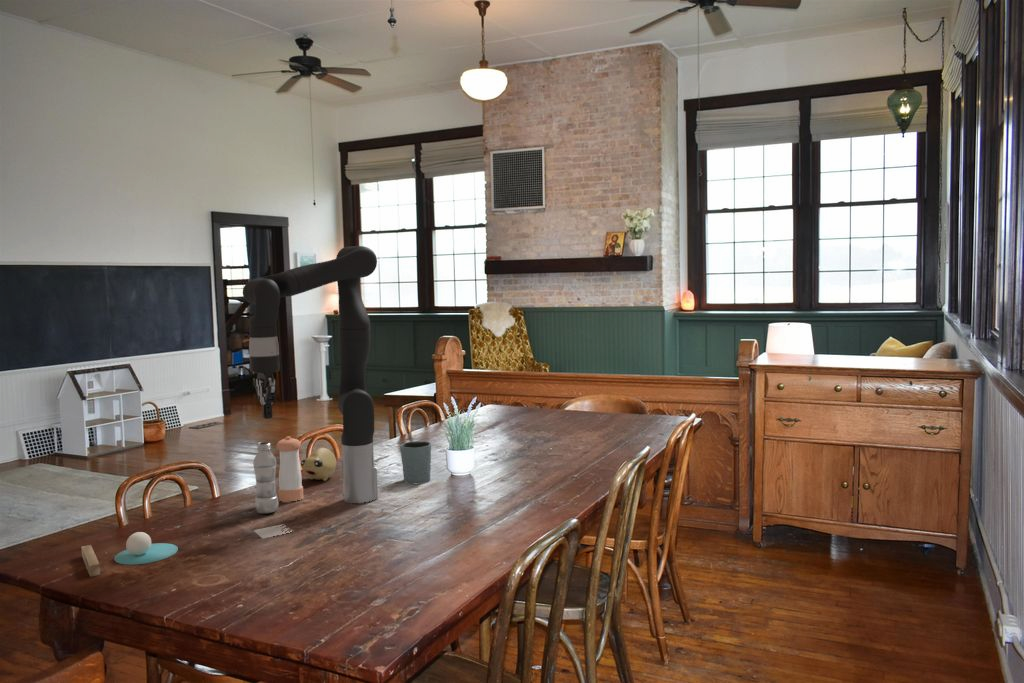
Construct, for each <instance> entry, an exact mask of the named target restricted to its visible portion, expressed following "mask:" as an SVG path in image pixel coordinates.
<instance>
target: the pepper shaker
mask: <svg viewBox="0 0 1024 683" xmlns="http://www.w3.org/2000/svg"><path fill="white" fill-rule="evenodd" d="M301 445H302V443H301V441H300V440H299V439H297V438H293V437H291V436H288V435H287V436H286V437H285V438H283V439H281V440H278V442H277V443H276V447H275V448H276V449H277V451H279V471H278V489H277V497H278V502H280V501H282V502H281V503H290V502H289V501H296V502H298V501H297V500H300V501H302V500H304V486H303V484H302V482H303V481H302V471H301V466H300V458H299V449H301V447H302V446H301ZM301 499H302V500H301Z"/></svg>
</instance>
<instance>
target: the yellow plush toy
mask: <svg viewBox="0 0 1024 683" xmlns="http://www.w3.org/2000/svg"><path fill="white" fill-rule="evenodd" d="M300 465H301V466H300V468H301V470H303V471H304V472H305V473H306V475H308V477H309V479H310V480H314V479H315V480H322V481H323V482H327V480H328V477H330V476H331V475H334V474H335V472H336V471H335V469H336V467H337V458H336V456H335V454H334V453H333V452H332V451H331V450H330V449H329V448H328V447H327V448H326V447H318V448H317V449H315V450H314V451H313V452H312V453H311V454H310V455H309V456H308V457H306V458H305V459H302V460H301V462H300Z"/></svg>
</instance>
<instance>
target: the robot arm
mask: <svg viewBox="0 0 1024 683" xmlns="http://www.w3.org/2000/svg"><path fill="white" fill-rule="evenodd" d="M377 263H378V258H377V255H376V254H375V252H374V251H373V249H371V248H369V247H367V246H364V245H357V246H356V245H355V246H350V245H349V246H345V247H342V248H340V250H339V251H338V253H337V254H336V257H335V258H333V259H331V260H326V261H320V262H315V263H310V264H305V265H301V266H300V265H299V266H297V267H294V268H290V269H286V270H284V271H282V272H279V273H277V274H271V275H265V276H260V277H257V278H253V279H250V280H249V281H247V282H246V283H245V285H244V286H243V288H242V289H243V290H242V295H243V298H244V300H245V301H246V303H249V304H250V305H253V306H255V307H254V314H253V315H252V316H250V318H249V321H248V330H249V342H248V343H249V344H248V352H249V368H250V369H249V370H250V372H251V373H252V374H253V373H254V374H256V375H257V376H256V380H255V382H254V387H255V391H256V395H257V400H258V401H259V402H260V404H261V413H262V414H261V416H262V418H263V419H265V420H267V419H272V418H273V404H274V403H276V399H277V393H278V389H279V386H278V385H277V384H276V378H275V377H274V372H275V373H276V372H279V371H280V369H281V368H280V365H281V364H280V348H279V346H280V345H279V341H278V339H279V338H278V325H277V319H278V315H279V311H280V310H279V309H280V304H281V298H284V297H285V298H286V297H287V298H288V297H294V296H297V295H299V294H302V293H307V292H309V291H311V290H314V289H317V288H321V287H323V286H325V285H329V284H332V283H335V282H337V283H336V284H337V289H338V290H337V291H338V350H339V351H338V352H339V353H338V354H339V365H340V366H339V367H340V368H339V369H340V378H339V390H338V399H337V405H338V406H337V407H338V410H339V412H340V413H341V415H342V433H341V436H340V438H341V463H342V466H341V467H342V490H343V492H342V495H343V501H344V502H345V503H346V502H347V504H352V503H359V504H365V503H364V502H366V503H370V502H373V501H374V500H377V499H378V497H379V496H378V494H379V492H378V470H377V467H376V466H375V459H374V457H375V456H374V434H375V405H374V404H375V403H374V400H373V397H372V396H371V395H370V394H369V393H368V392H367V388H366V387H367V386H366V367H367V363H368V358H369V355H370V354H369V353H370V349H371V337H372V336H371V320H370V316H369V314H368V312H367V309H366V306H365V304H364V302H363V300H362V295H361V279H362V278H365V277H369V276H370V275H372V274H373V273H374V272H375V270H376V269H377V266H378V264H377ZM372 500H373V501H372ZM369 501H370V502H369Z"/></svg>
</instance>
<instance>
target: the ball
mask: <svg viewBox="0 0 1024 683" xmlns="http://www.w3.org/2000/svg"><path fill="white" fill-rule="evenodd" d="M151 544H152V538H151V536H150V535H149V534H147V533H146V532H142V531H136V532H134V533H133V534H131V535H130V536H129V537H127V540H126V542H125V546H126V550H128V552H129V553H131V554H133V555H142V554H144V553H146V552H147V551H148V550H149V549H150V547H151Z"/></svg>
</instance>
